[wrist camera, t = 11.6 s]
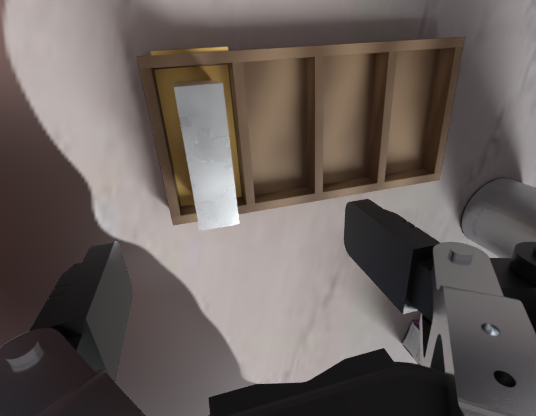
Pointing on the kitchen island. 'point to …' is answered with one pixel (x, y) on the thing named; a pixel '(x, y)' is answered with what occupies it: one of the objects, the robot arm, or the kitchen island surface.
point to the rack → (311, 118)
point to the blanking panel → (208, 152)
